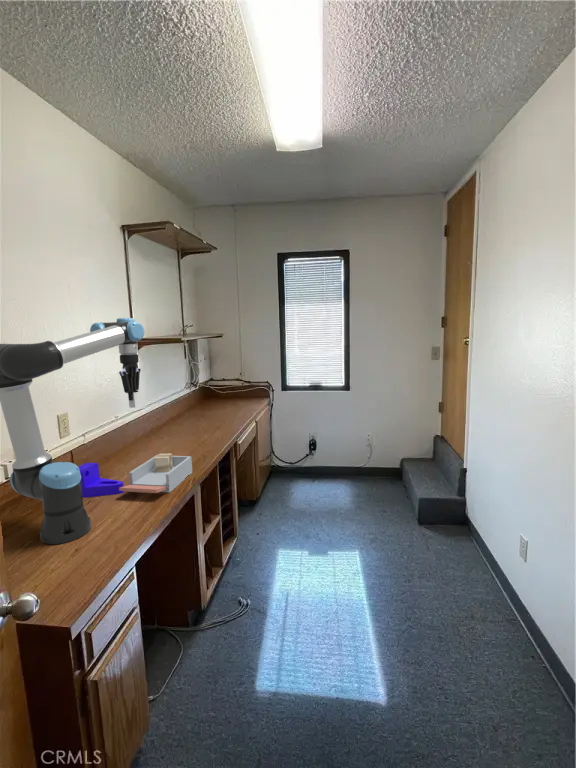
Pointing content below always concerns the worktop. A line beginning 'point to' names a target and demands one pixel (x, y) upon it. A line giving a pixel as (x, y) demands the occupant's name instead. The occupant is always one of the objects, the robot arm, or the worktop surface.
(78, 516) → the robot arm
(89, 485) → the bracket
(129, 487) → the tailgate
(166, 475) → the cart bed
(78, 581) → the worktop surface
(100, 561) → the worktop surface
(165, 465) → the beige block
